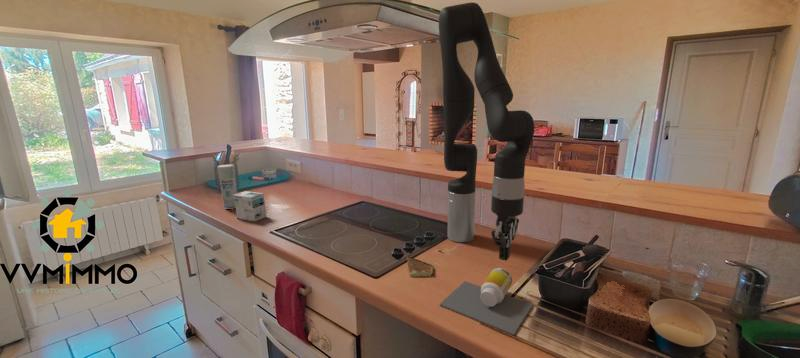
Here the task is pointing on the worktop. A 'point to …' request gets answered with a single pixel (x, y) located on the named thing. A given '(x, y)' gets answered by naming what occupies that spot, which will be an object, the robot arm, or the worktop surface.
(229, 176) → the spray can
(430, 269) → the shard
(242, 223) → the worktop surface
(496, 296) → the supplement bottle
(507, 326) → the mat
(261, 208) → the light bulb box
